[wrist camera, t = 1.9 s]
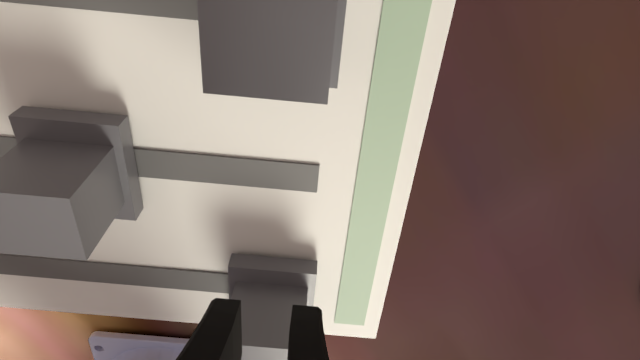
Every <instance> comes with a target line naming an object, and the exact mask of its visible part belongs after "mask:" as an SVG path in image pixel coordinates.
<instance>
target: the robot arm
mask: <svg viewBox="0 0 640 360" xmlns="http://www.w3.org/2000/svg"><path fill="white" fill-rule="evenodd" d="M88 342H89V345H90V348H91V351H92V354H93V357H94V360H241V357H242V320H241V300H234V299H223V298H215V299H213V300H212V301H211V302H210V304H209V306H208V308H207V310H206V312H205V314H204V315H203V317H202V319H201V321H200V322H199V324H198V326H197V327H196V329H195V331H194V332H193V334H192V336H191V337H190V339H185V338H174V337H162V336H150V335H138V334H126V333H114V332H103V331H95V332H92V334H91V335H90V337H89V339H88ZM287 360H329V357H328V352H327V347H326V342H325V336H324V330H323V320H322V310H321V309H320V308H319V307H316V306H304V305H293V306H292V314H291V322H290V330H289V342H288V356H287Z"/></svg>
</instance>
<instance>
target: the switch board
mask: <svg viewBox="0 0 640 360" xmlns="http://www.w3.org/2000/svg"><path fill="white" fill-rule="evenodd" d="M455 1H456V0H347V5H346V14H345V23H344V32H343V41H342V50H341V59H340V68H339V77H338V86H337V88H329V94H328V104H327V105H326V104H315V103H304V102H293V101H282V100H271V99H260V98H250V97H239V96H228V95H217V94H206V93H203V86H202V71H201V55H200V40H199V25H198V10H197V0H0V158H1V157H2V156H4V155H5V154H6V153H7V152H8V151H10V150H11V149H12V148H13V147H14V146H16V145H17V141H16V138H15V135H14V132H13V129H12V126H11V123H10V120H9V117H8V116H9V115H10V114H12V113H13V112H14V111H16V110H17V109H19V108H20V107H21V106H30V107H41V108H52V109H63V110H74V111H85V112H96V113H107V114H118V115H128V118H129V124H130V130H131V136H132V142H133V148H134V154H135V160H136V166H137V172H138V178H139V183H140V189H141V195H142V201H143V207H144V208H143V210H142V212H141V213H140V215H139V217H138V218H137V220H136V221H133V220H121V219H114V220H113V222H112V223H111V225H110V226H109V228H108V229H107V231H106V232H105V234H104V235H103V237H102V238H101V240H100V241H99V243H98V244H97V246H96V247H95V249H94V250H93V252H92V253H91V255H90V256H89V258H88V259H87V261H85V260H74V259H62V258H51V257H39V256H27V255H16V254H4V253H0V307H10V308H22V309H34V310H45V311H57V312H69V313H81V314H93V315H104V316H116V317H128V318H140V319H151V320H163V321H175V322H187V323H198V324H199V322H200V321H201V319H202V317H203V315H204V314H205V312H206V310H207V308H208V306H209V304H210V302H211V301H212V300H213V299H215V298H223V299H229V285H228V264H229V261H230V257H231V254H232V253H236V254H248V255H259V256H271V257H282V258H294V259H305V260H317V261H318V262H317V277H316V286H315V295H314V304H313V306H316V307H319V308H320V309H321V310H322V320H323V330H324V334H328V335H340V336H352V337H363V338H376V334H377V330H378V326H379V321H380V317H381V313H382V309H383V304H384V300H385V296H386V292H387V288H388V283H389V279H390V275H391V271H392V267H393V262H394V258H395V254H396V250H397V246H398V241H399V237H400V233H401V229H402V224H403V220H404V216H405V212H406V208H407V203H408V199H409V195H410V191H411V187H412V182H413V178H414V174H415V170H416V166H417V161H418V157H419V153H420V149H421V145H422V140H423V136H424V132H425V128H426V123H427V119H428V115H429V111H430V107H431V102H432V98H433V94H434V90H435V86H436V81H437V77H438V73H439V69H440V65H441V60H442V56H443V52H444V48H445V43H446V39H447V35H448V31H449V27H450V22H451V18H452V14H453V10H454V6H455Z"/></svg>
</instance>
